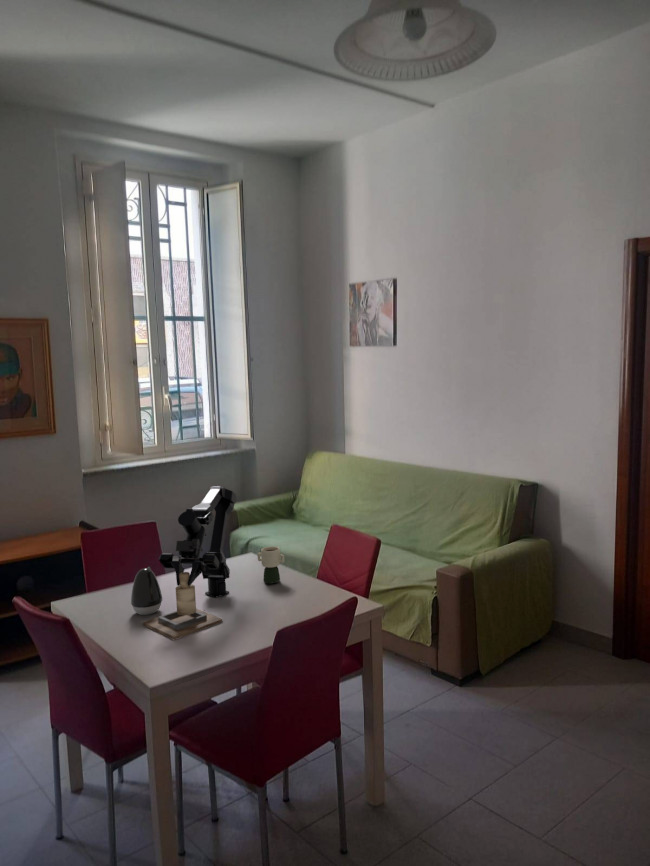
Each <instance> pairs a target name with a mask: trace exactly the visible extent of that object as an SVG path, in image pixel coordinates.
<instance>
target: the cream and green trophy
mask: <svg viewBox="0 0 650 866" xmlns="http://www.w3.org/2000/svg"><path fill="white" fill-rule="evenodd" d="M257 561H258V562H261V566H262V567H264V571H263V580H262V581H263V583H266V584H274V583H275V584H276V583H278V582H280V581H281V576H280V571H279V566H280V565H281V564H283V563H285V554H282V553H281V549H280V547H279V546H276V545H275V546H274V545H273V546H272V545H271V546H265V547H262V548H260V552H257Z"/></svg>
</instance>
